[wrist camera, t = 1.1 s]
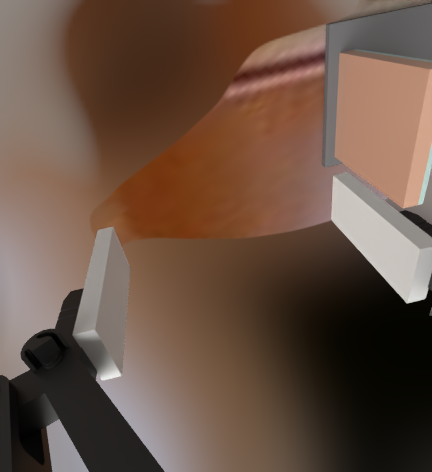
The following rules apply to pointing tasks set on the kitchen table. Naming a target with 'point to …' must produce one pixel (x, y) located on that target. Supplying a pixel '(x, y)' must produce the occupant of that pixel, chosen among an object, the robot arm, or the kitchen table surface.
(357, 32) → the mat
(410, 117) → the tile
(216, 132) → the kitchen table surface
